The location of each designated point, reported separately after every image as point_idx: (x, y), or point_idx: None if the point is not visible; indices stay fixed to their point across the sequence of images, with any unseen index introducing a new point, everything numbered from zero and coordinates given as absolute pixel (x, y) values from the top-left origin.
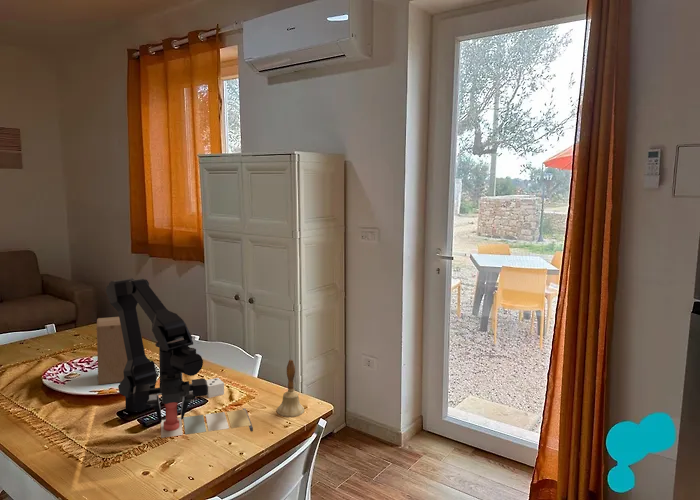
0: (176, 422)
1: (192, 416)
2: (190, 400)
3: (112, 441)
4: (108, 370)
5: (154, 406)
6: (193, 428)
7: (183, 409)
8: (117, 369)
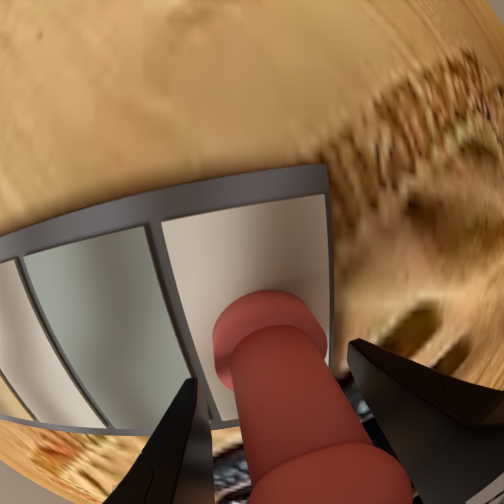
0: (233, 353)
1: None
2: None
3: (479, 239)
4: (415, 494)
5: (495, 398)
6: (106, 308)
7: (170, 450)
8: None
